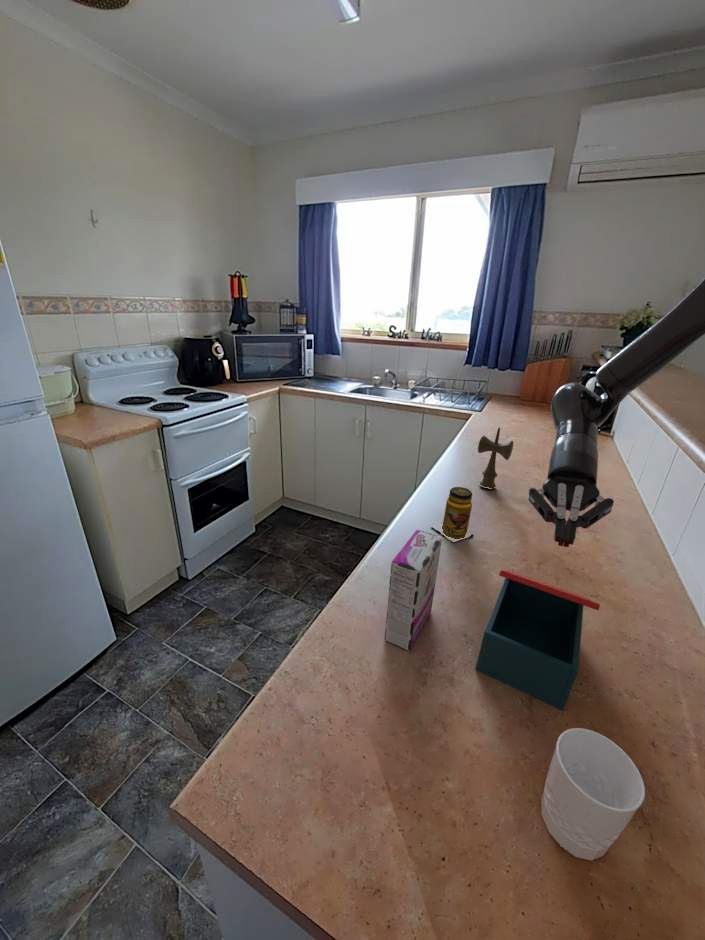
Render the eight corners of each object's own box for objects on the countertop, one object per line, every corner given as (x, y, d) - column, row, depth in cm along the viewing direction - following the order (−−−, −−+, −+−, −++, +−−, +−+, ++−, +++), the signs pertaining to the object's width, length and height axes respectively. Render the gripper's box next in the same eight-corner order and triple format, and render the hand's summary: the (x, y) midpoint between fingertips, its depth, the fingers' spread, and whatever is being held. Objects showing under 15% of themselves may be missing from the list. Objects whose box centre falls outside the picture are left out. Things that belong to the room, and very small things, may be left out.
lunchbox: (563, 711, 57) (578, 671, 54) (475, 669, 62) (484, 631, 59) (571, 636, 70) (583, 601, 67) (498, 607, 76) (506, 574, 73)
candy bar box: (406, 601, 76) (416, 527, 69) (431, 612, 74) (444, 536, 67) (381, 640, 67) (390, 559, 60) (409, 653, 65) (421, 571, 58)
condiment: (453, 543, 95) (461, 499, 91) (429, 527, 102) (436, 485, 97) (474, 536, 99) (483, 493, 94) (450, 520, 106) (457, 480, 101)
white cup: (571, 880, 40) (600, 823, 36) (519, 793, 47) (540, 737, 43) (631, 854, 42) (665, 797, 38) (573, 775, 49) (597, 720, 45)
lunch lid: (598, 610, 51) (600, 604, 51) (498, 575, 57) (500, 569, 57) (583, 601, 67) (585, 596, 67) (506, 574, 72) (507, 570, 73)
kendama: (500, 494, 122) (514, 432, 115) (469, 486, 127) (480, 426, 119) (504, 488, 127) (518, 428, 119) (474, 480, 132) (485, 422, 124)
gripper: (533, 445, 71) (518, 521, 61) (621, 452, 65) (619, 538, 55) (531, 473, 76) (517, 548, 67) (612, 482, 70) (610, 566, 60)
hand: (563, 543), depth 61 cm, fingers closed
